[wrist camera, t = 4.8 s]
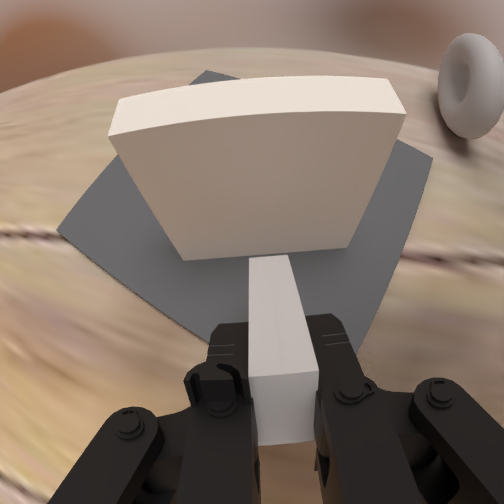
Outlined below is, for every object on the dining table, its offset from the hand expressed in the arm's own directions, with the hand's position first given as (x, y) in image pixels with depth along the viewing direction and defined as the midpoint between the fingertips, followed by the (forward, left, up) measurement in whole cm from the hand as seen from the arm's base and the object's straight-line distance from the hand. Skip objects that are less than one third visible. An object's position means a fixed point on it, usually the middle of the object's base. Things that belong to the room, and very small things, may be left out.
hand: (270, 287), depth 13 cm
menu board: (+3, -4, -5) cm, 7 cm away
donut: (-6, -24, -6) cm, 26 cm away
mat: (+6, -7, -6) cm, 11 cm away
